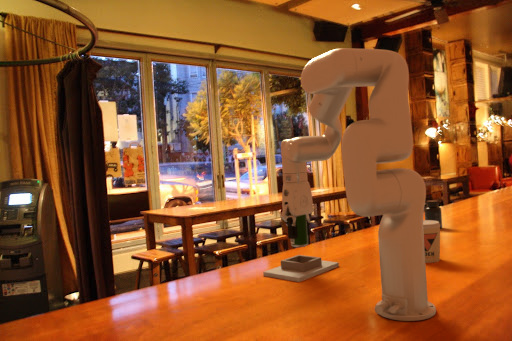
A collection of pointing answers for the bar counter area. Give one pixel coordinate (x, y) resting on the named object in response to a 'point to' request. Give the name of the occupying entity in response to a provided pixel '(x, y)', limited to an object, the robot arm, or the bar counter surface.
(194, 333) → the bar counter surface
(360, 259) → the bar counter surface
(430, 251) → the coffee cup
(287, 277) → the holder board
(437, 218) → the supplement bottle
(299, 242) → the beer can
